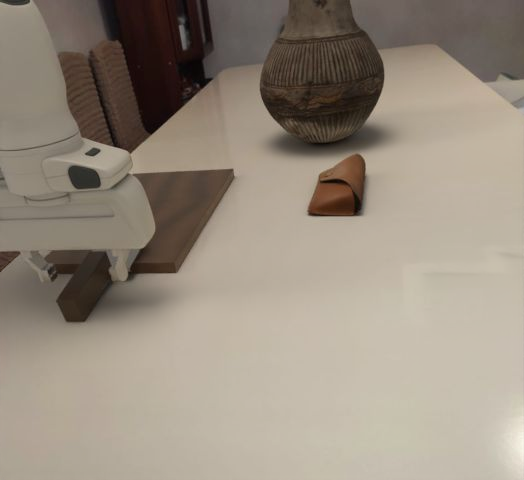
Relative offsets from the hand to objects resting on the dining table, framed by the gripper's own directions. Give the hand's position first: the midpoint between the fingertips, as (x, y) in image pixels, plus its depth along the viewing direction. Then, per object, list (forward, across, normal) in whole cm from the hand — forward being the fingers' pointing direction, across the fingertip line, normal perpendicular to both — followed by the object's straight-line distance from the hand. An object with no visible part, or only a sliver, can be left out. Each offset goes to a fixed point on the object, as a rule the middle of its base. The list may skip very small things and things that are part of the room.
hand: (84, 279), depth 65 cm
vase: (+3, +24, +64) cm, 68 cm away
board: (+3, -1, +26) cm, 26 cm away
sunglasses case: (+3, +29, +33) cm, 44 cm away
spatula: (+2, 0, +4) cm, 5 cm away
